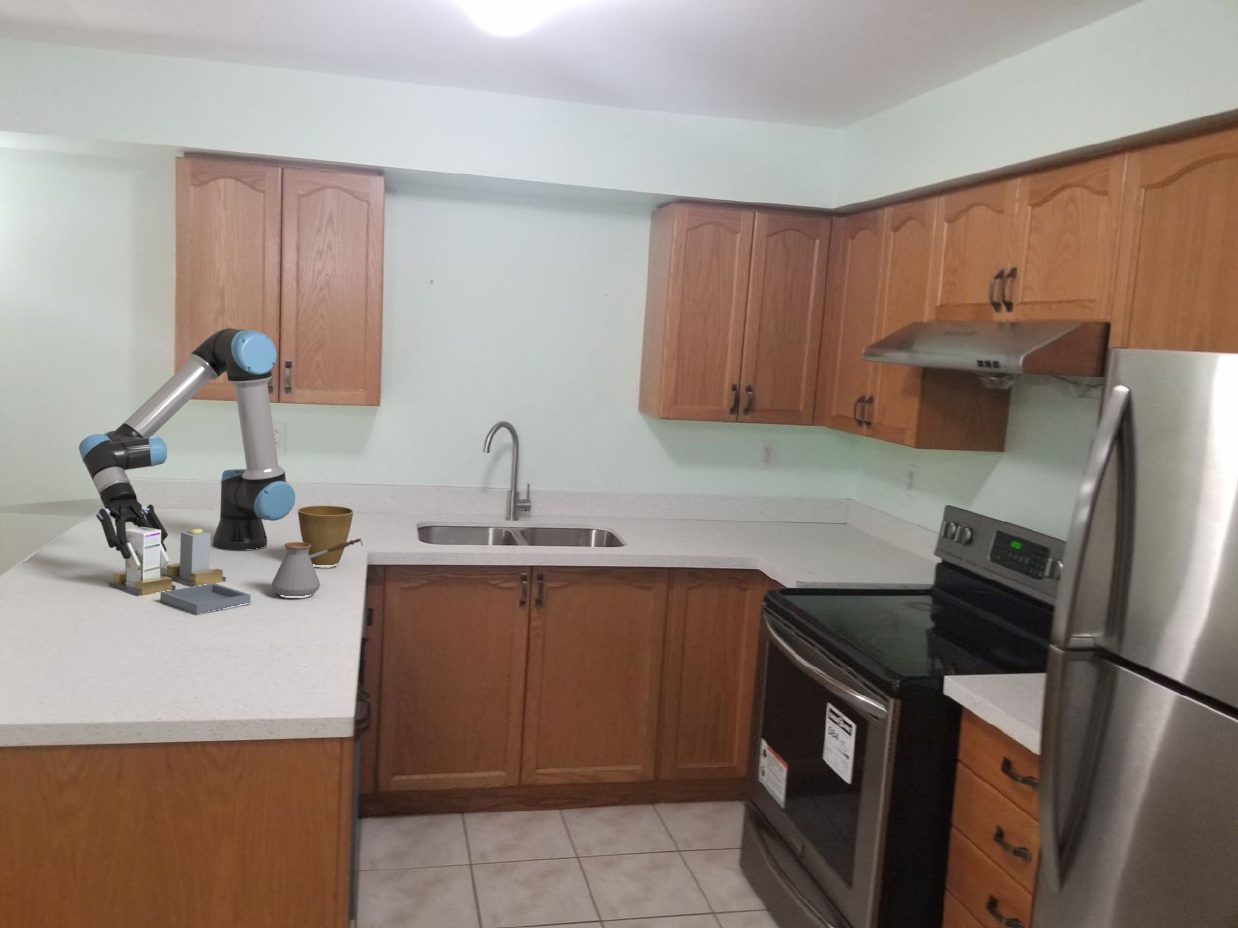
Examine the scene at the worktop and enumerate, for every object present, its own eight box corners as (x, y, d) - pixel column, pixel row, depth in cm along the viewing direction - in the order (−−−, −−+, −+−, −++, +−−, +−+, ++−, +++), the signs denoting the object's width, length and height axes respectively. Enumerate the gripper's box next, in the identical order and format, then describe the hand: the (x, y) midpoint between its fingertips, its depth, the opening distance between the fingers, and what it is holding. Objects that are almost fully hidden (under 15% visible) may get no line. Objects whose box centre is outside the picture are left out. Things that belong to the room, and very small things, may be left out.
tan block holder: (146, 579, 249) (146, 568, 248) (175, 589, 242) (175, 577, 242) (108, 585, 241) (109, 573, 240) (137, 595, 234) (138, 583, 234)
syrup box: (160, 587, 243) (162, 528, 241) (142, 591, 238) (143, 532, 236) (142, 583, 245) (144, 525, 243) (123, 588, 239) (125, 529, 238)
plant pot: (312, 557, 287) (314, 503, 285) (359, 563, 284) (362, 509, 283) (284, 567, 273) (287, 510, 271) (334, 574, 270) (337, 516, 268)
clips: (196, 571, 260) (197, 560, 260) (225, 581, 254) (226, 569, 253) (162, 577, 252) (162, 565, 252) (191, 586, 246) (192, 575, 245)
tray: (213, 592, 242) (214, 583, 242) (250, 604, 234) (250, 594, 234) (160, 602, 230) (160, 592, 230) (196, 615, 223) (197, 604, 223)
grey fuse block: (197, 576, 256) (198, 526, 255) (209, 579, 254) (210, 529, 252) (179, 578, 252) (181, 528, 251) (191, 582, 249) (193, 532, 248)
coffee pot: (268, 601, 239) (271, 540, 237) (273, 589, 250) (276, 530, 248) (359, 602, 244) (363, 543, 242) (360, 591, 255) (363, 533, 253)
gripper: (146, 495, 255) (181, 569, 249) (69, 502, 239) (105, 581, 232) (158, 478, 252) (195, 552, 245) (81, 483, 236) (118, 563, 229)
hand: (151, 566), depth 239 cm, fingers closed on syrup box, 7 cm apart
